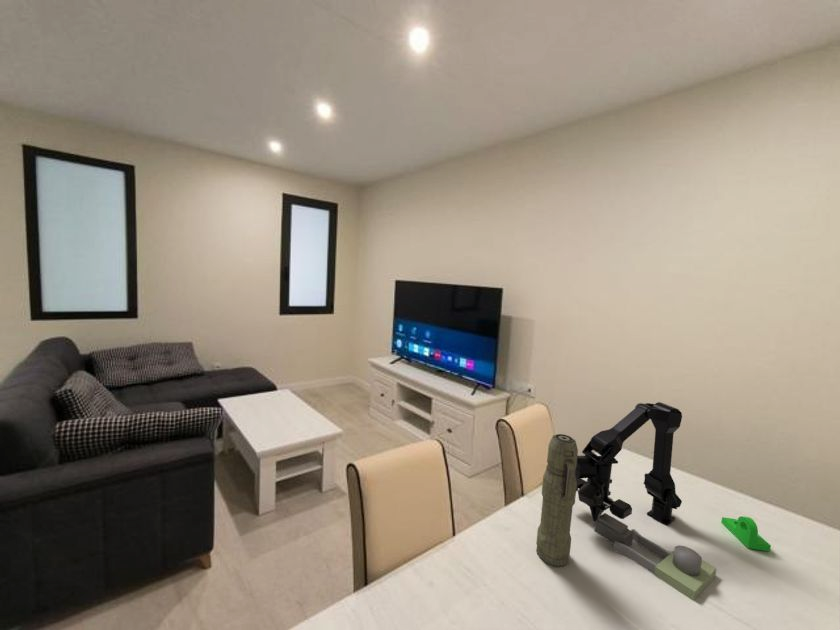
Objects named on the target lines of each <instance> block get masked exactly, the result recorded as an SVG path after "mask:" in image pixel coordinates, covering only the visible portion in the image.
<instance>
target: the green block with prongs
mask: <svg viewBox="0 0 840 630" xmlns="http://www.w3.org/2000/svg"><path fill="white" fill-rule="evenodd" d="M630 530H631V531H633V539H632V541H634V542H635V543H636V544H638V546H640V547H642V548H644V549H645V550H646V551H649V552H650V553H652V554H654V555H656V556H657V557H659V558H660V559H662V560H661V561H660V562H659V563H658V564H657V563H655V562H654V561H652V560H651V559H649V558H647V557H646V556H644V555H643V554H642V553H639V552H638V551H637V550H635V549H634V548H632V547H630V546H629V547H628V546H626V545H624V544H622V543H619V542H616V541H614V544H613V550H612V551H613V552H616V553H618V554H620V555H621V554H622V555H624V556H625V557H626V558H628V559H630V560H631V561H633V562H635V563H636V564H638V565H639V566H641V567H642V568H644V570H647V571H649V572H650V573H652V574H653V576H655V577H657V578H659V580H661V581H663V582H665V583H666V584H668V585H669V586H671V587H672V588H673V589H675V590H676V591H678V592H679V593H681V594H683V595H684V596H685V597H687V598H688V599H690V600H692V601H695V600H696V598H697V597H698V596H699V595H700V594H701V592H703V591H704V589H705V588H706V587H707V586H708V585H709V584H710V583H711V582H712V580H713V579H714V578H715V577H716V575H717V566H714V565H712V564H711V563H709V562H707V561H705V560H703V557H702V556H701V555H700V554H699V552H697V551H695V550H694V549H692V548H690V547H688V546H684V545H675V546H674V549H673V551H668V550H666V549H665V548H664V547H661V546H660V545H658V544H656V543H655V542H653V541H651V540H649V539H648V538H646V537H644V536H642V535H641V534H640V533H639V532H638V531H637V530H636V529H634V528H632V529H630Z"/></svg>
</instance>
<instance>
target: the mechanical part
mask: <svg viewBox="0 0 840 630" xmlns="http://www.w3.org/2000/svg"><path fill="white" fill-rule="evenodd" d="M720 523H721V524H722V525H723V526H724V527H725V528H726V529H727V530H728V531H730V532H731V534H733V535H734V537H736V538H737V540H739V541H740V542H741V543H742V544H743V545H744V546H745V547H746V548H747V549H752V550H758V551H765V552H770V551H771V548H772V547H771V544H770V543H769V542H768V541H767V540H765V539H764V538H763V537H762V536H761V535H760V534H759V529H758V526H757V523H756V522H755V520H754V519H753V518H752V517H748V516H739V517H738V518H737V519H736V518H731V517H725V516H723V517H721V522H720Z"/></svg>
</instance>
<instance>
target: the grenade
mask: <svg viewBox="0 0 840 630" xmlns="http://www.w3.org/2000/svg"><path fill="white" fill-rule="evenodd" d="M547 447H548V449H547V458H546V463H547V465H546V468H545V471H544V473H543V475H542V484H541V495H542V503H541V504H542V505H541V513H540V523H539V525H538V527H537V535H536V551H535V552H536V555H537V557H538V558H539V559H540V561H542V562H543V563H545V564H546V565H548V566H550V567H554V568H556V569H557V568H564V567H566V566H567V565H568V564H569V557H570V553H571V544H572V537H571V536H572V535H571V525H572V515H573V507H574V505H575V503H576V496H577V491H576V488H577V482H576V478H575V474H576V465H577V455H578V456H579V454H578V453H579V451H578V450H579V449H578V445H577V441H576V439H574V438H573V437H571V436H569V435H567V434H563V433H558V434H553V435H552V437H551V439H550V441H549V443H548V446H547Z"/></svg>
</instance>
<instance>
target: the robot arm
mask: <svg viewBox="0 0 840 630" xmlns="http://www.w3.org/2000/svg"><path fill="white" fill-rule="evenodd" d="M682 418H683V413H682V412H681V411H680V409H679V408H677V407H673V406H671V405H669V404H666V403H663V402H660V401H659V402H656V403H650V402H647V403H642V402H639V403H636V405H635V407H634V409H633V410H631V411H630V412H629V413H628V414H627V415H626V416H625V417H623V418H622V419H621V420H619V421H618V422H617V423H616V424H615V425H613V426H612V427H611V428H609V429H606V430H601V431H599V432H598V433H596V434H594V435H593V436H592V437H591V439H590V440H589V442H588V443H587V444H586V446H585V447H584V448H583V449H582V451H581V453H582V454H583V455H579V454H578V455H577V465H576V474H575V478H576V482H577V488H576V492H577V495H578V496H577V497H578V501H579V502H581V503H583V504H585V505H587V506H588V507H589V510H590V514H591V517H592V521H593V522H595V521H596V520H597V519H598V517H599V516H601V515H603V514H604V513H605V511H606V510H608V509H609V511H610V513H611V515H613V516H615V517H617V518H618V519H620V520H624V519H626V518H628V517H629V516H630V515H632V514H633V508H632V507H633V506H632V504H629V503H627V502H626V501H624V500H622V499H621V498H620V499H619V498H618V499H616V500H613V498H612V497H610V496H611V493H612V492H611V491H610V485H611V484H612V483H613V479H612V478H611V476H612V470H613V469H612V468H613V465H614V464H618V463H619V461H618V460H617V459H616V458H615V457H616V456H617V455H618V454H619V453H620V452H621V451H622V449H623V445H624V443H625V441H626V440H627V439H629V438H630V437H631V436H632V435H633V434H634V433H636V432H637V431H638V430H639V429H640V428H642V427H643V426H644V425H646V423H647V422H648V421H650V420H651V423H652V424H653V427H654V433H655V434H654V445H653V455H652V456H653V457H652V458H653V459H652V469H651V470H650V471H649V472H648V473H644V481H643V483H642V484H643V485H644V488H645V490H646V493H647V495H649V496H651V497H652V504H651V509H650V510H649V511H648V512H646V515H647V516H648V517H650V518H652V519H654V520H656V521H658V522H660V523H662V524H664V525H666V526H669V525H670V524H671V523H673V522H674V521H675V520H676V517H675V516H672V515H673V509H674V510H677V509H678V508H680V507H681V506H682V502H683V500H681V499H682V498H680V497H679V496H678V494H677V493H676V484H675V481H674V479H673V477H672V475H671V469H672V468H671V467H672V458H673V457H672V456H673V445H674V444H673V443H674V434H675V432H676V431H677V430H678V429H679V428H680V427H681V422H682ZM597 454H598V455H597ZM585 479H586V480H585Z"/></svg>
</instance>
